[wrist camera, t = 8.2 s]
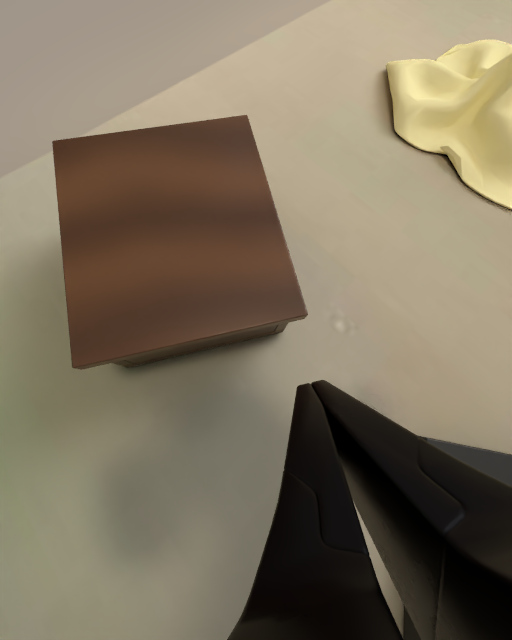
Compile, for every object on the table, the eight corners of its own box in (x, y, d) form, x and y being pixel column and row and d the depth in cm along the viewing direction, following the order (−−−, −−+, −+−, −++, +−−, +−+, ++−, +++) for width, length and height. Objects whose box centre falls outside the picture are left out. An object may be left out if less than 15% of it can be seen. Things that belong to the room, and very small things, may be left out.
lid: (304, 318, 15) (308, 314, 15) (80, 370, 14) (71, 368, 13) (247, 125, 19) (247, 114, 18) (59, 152, 17) (51, 140, 16)
